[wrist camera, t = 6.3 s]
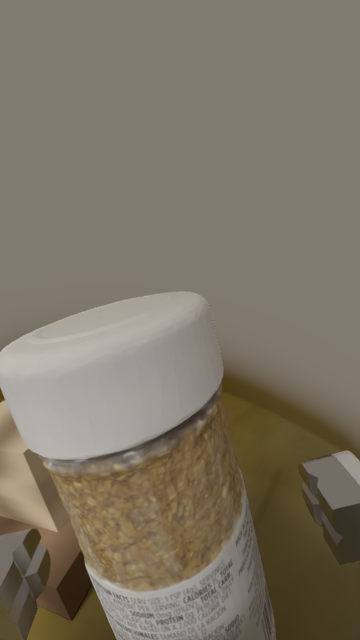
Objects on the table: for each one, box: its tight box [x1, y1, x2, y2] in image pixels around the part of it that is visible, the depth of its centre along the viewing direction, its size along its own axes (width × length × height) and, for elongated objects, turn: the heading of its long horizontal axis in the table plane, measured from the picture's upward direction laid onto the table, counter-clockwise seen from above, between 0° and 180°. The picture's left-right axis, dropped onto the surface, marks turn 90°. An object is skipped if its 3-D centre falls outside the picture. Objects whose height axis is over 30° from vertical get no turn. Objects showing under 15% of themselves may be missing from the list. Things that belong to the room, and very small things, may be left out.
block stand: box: [0, 400, 92, 621], centre depth 19 cm, size 12×12×7 cm
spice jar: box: [0, 291, 276, 640], centre depth 7 cm, size 5×5×14 cm
